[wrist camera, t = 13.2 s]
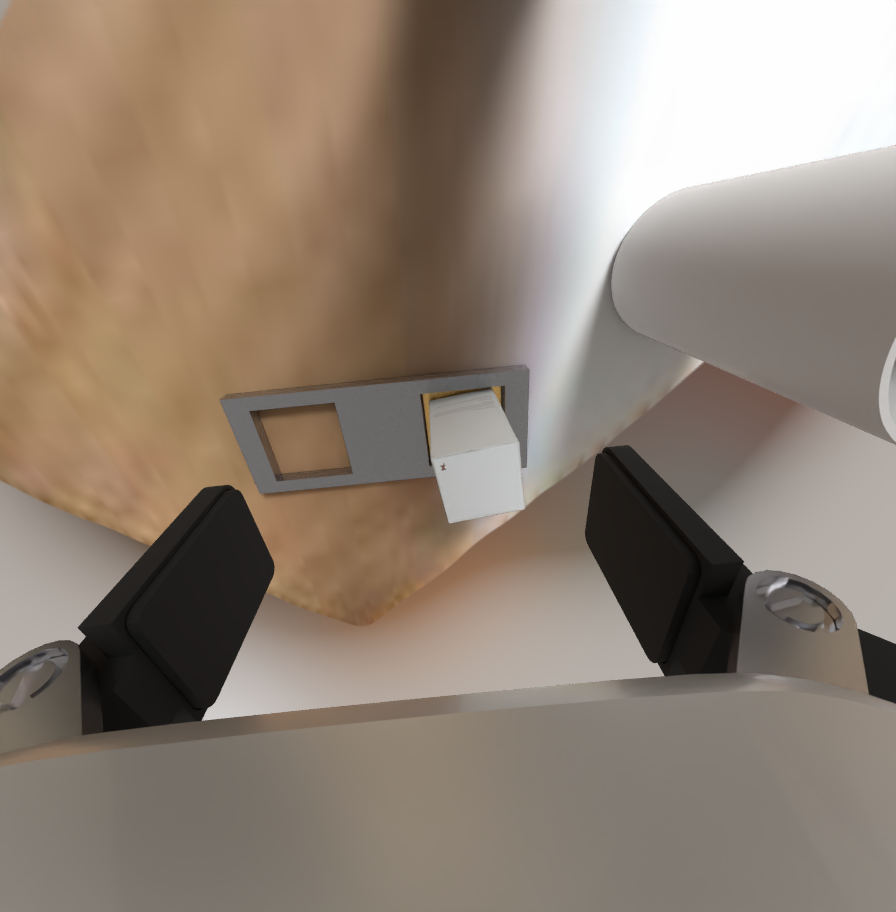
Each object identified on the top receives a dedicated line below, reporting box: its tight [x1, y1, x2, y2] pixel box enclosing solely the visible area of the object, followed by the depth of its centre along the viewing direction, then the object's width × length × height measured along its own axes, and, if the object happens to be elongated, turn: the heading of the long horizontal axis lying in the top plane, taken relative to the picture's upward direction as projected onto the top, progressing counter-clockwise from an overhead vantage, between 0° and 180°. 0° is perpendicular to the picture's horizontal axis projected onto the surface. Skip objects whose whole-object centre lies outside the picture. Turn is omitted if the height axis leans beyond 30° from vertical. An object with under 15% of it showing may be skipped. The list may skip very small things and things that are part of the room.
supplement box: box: [429, 388, 525, 523], centre depth 36 cm, size 7×7×13 cm
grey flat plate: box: [220, 365, 529, 494], centre depth 41 cm, size 12×32×2 cm, turn 95°
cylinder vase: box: [611, 145, 896, 445], centre depth 24 cm, size 12×12×25 cm
